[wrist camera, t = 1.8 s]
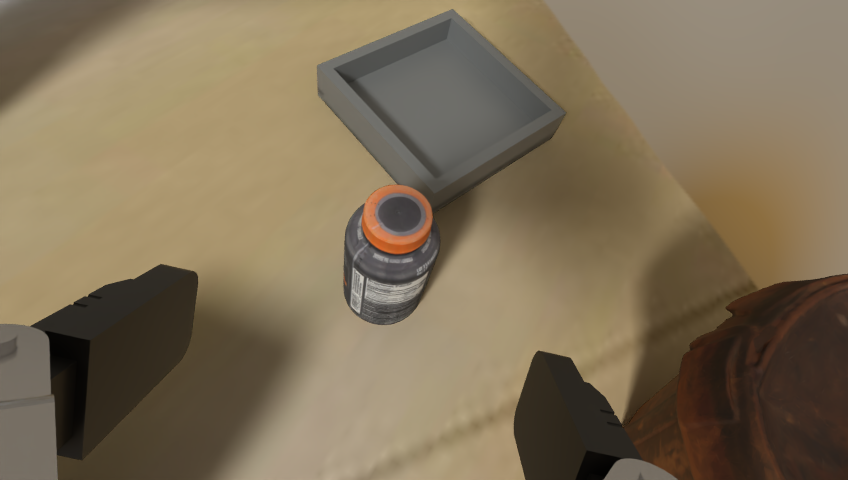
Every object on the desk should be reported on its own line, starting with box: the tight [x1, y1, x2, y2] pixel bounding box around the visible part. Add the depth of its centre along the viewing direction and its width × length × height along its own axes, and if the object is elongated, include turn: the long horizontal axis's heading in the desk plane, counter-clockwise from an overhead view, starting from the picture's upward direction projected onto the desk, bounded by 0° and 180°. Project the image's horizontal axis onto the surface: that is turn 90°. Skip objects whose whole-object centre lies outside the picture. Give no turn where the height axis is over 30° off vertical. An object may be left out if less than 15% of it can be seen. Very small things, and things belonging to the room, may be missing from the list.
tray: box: [317, 9, 566, 213], centre depth 45 cm, size 16×16×4 cm
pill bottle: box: [344, 185, 440, 325], centre depth 33 cm, size 6×6×11 cm
